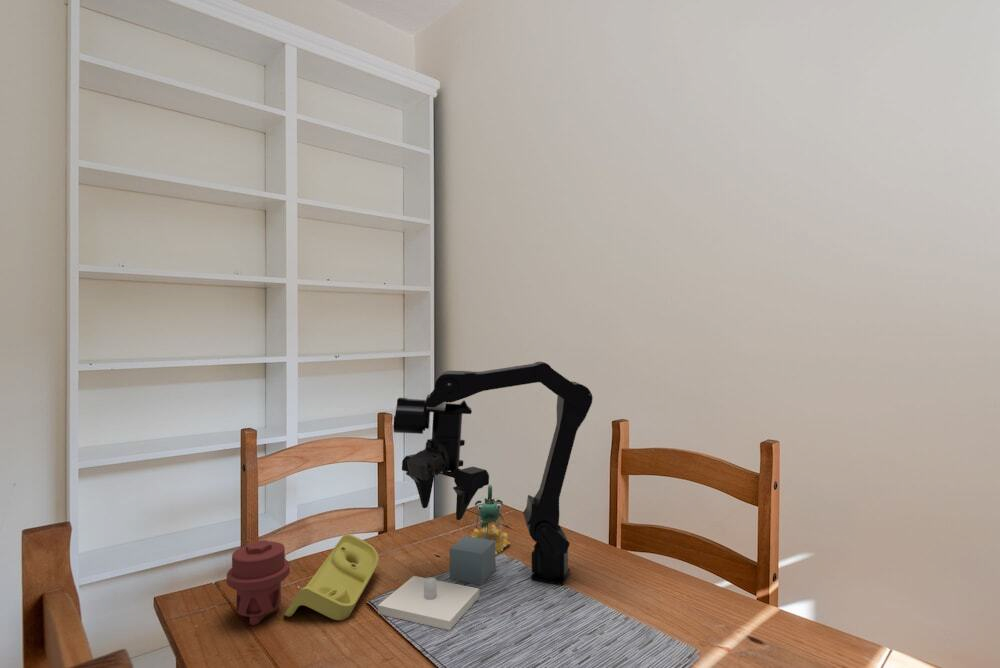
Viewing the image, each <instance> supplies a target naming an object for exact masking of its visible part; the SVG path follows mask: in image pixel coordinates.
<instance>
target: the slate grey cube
mask: <svg viewBox="0 0 1000 668" xmlns="http://www.w3.org/2000/svg"><path fill="white" fill-rule="evenodd" d="M495 571H496V555H495V541H494V540H487V539H481V538H475V537H470V536H469V535H463V537H461V538H460V539H459V540H458V541H456V543H454V544H453V545H452V546H451V547H450V548H449V579H451V580H455V581H460V582H466V583H471V584H477V585H483V584H484V583H485V582H486V581H487V579H488V578H489V577H490V576H491V575H492V574H493V573H494V572H495Z"/></svg>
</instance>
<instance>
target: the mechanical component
mask: <svg viewBox="0 0 1000 668" xmlns="http://www.w3.org/2000/svg"><path fill="white" fill-rule="evenodd" d="M285 547H286V546H285V545H284V544H283V543H280V542H278V541H270V540H265V539H264V540H263V539H262V540H260V539H259V540H256V541H252V542H250V543H248V544H246V545H244V546H241V547H239V548H237V549H236V550H235V551H234V552H233V553H232V554H231V568H230V569H229V570H228V571H227V573H226V585H227V586H228V587H229V588H231V589H233V590H235V591H236V613H237V614H239V615H240V616H243V617H247V618H248V617H249V625H252V626H256V625H258V624H259V623H260V622H261V621H262V620H264V618H266V617H267V616H269V615H271V614H273V613H275V612H278V611H279V608H280V605H281V602H282V595H281V594H282V587H281V586H282V585H281V583H282V581H283V582H284V580H285V579H286V578H287V577H288V576H289V575H290V573H291V564H290V562H289V560H287V559H286V558H285V557H286V556H285V555H286V554H285V552H286V551H285V549H286V548H285Z"/></svg>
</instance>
